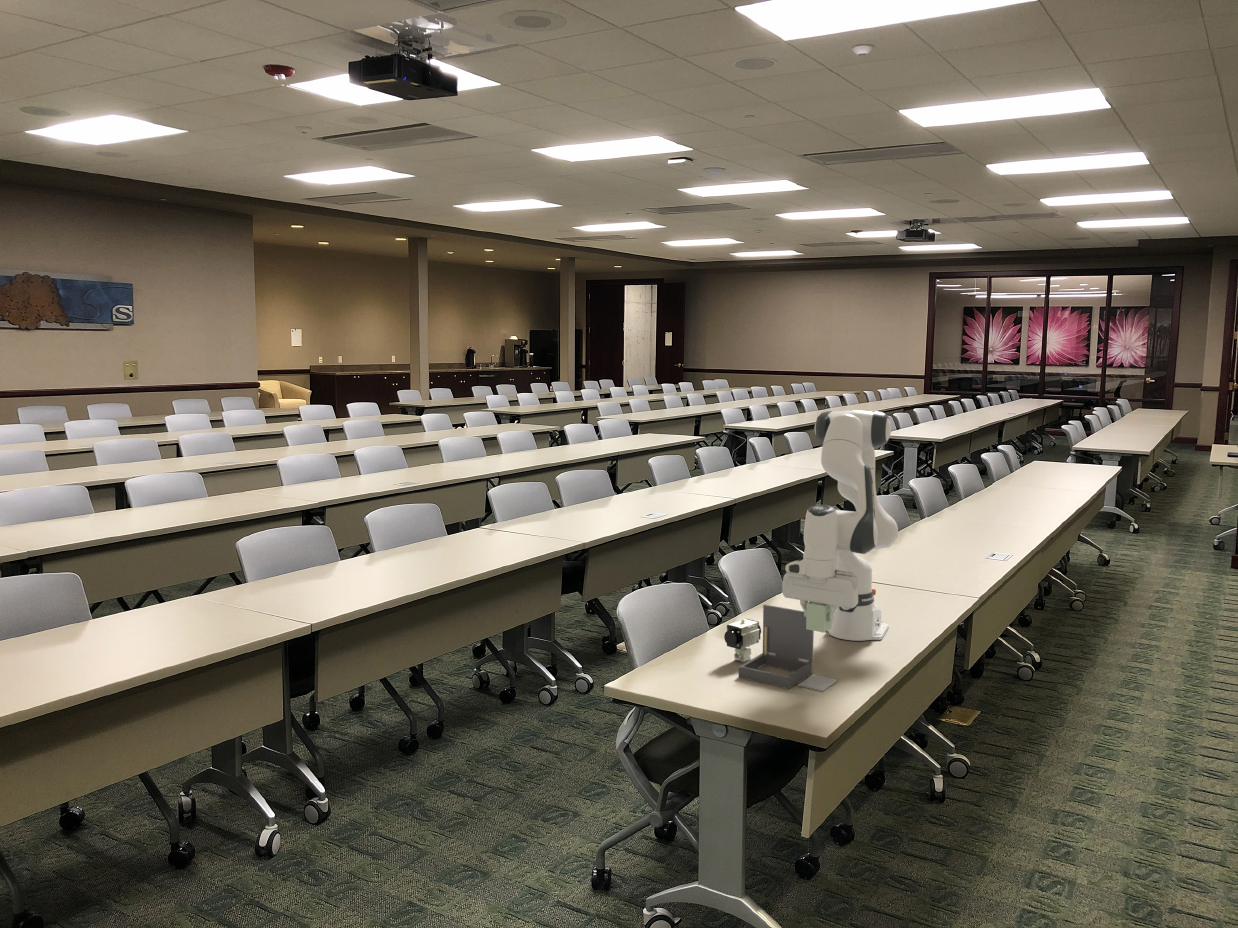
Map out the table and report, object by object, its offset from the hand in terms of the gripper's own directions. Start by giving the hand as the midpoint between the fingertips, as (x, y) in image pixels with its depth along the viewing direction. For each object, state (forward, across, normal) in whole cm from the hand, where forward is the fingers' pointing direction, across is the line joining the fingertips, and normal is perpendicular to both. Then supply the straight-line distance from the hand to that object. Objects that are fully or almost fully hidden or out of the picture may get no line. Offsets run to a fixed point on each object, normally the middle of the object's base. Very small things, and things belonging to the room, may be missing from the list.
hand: (819, 618), depth 237 cm
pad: (+18, 0, 0) cm, 18 cm away
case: (+18, +12, +1) cm, 21 cm away
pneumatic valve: (+18, +25, -5) cm, 31 cm away
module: (+3, 0, 0) cm, 3 cm away
